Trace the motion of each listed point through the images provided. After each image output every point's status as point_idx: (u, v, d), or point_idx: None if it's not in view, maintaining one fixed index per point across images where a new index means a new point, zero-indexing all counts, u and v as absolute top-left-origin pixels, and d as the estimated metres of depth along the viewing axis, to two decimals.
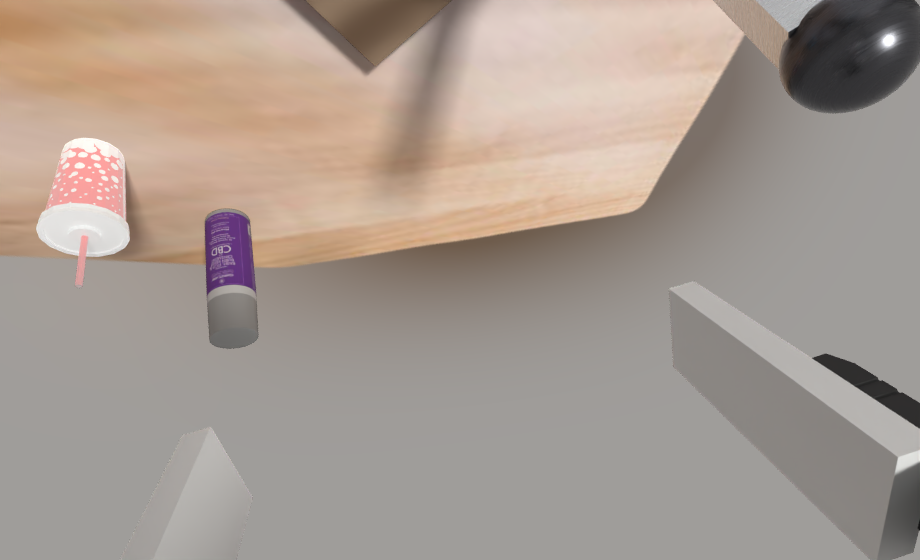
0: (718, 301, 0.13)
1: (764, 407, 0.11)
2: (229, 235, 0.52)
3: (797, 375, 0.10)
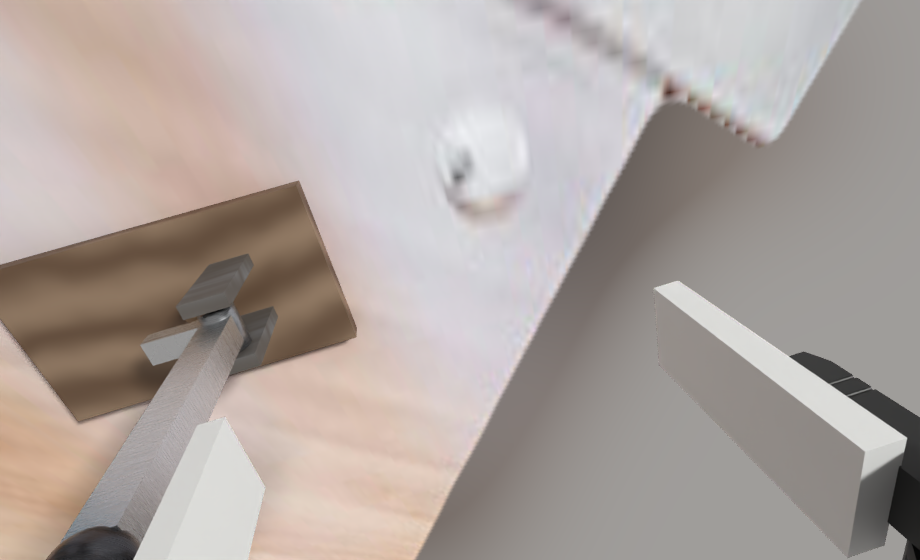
0: (700, 300, 0.13)
1: (743, 404, 0.11)
2: None
3: (773, 372, 0.10)
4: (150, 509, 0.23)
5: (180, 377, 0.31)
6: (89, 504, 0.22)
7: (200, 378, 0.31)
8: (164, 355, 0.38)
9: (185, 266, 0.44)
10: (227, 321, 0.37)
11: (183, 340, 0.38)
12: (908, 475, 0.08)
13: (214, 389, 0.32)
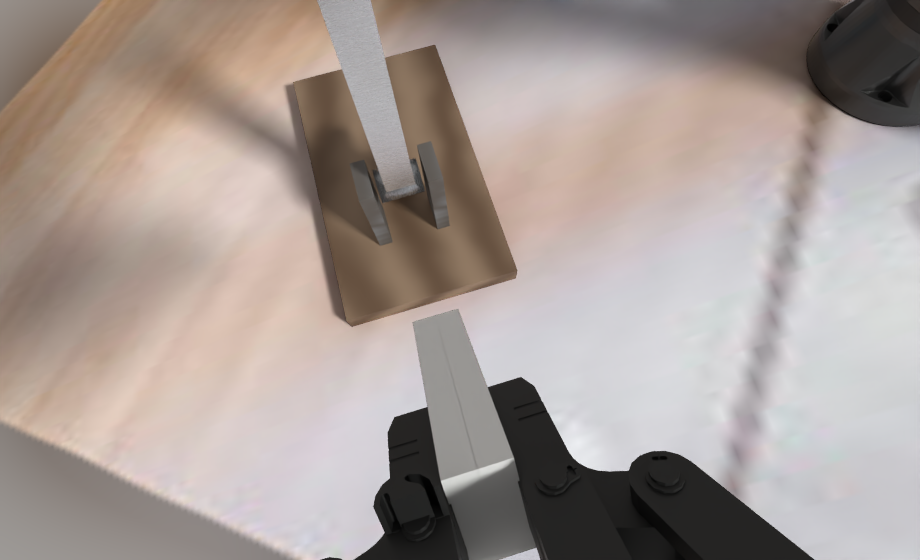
0: (461, 328, 0.14)
1: None
2: None
3: (464, 398, 0.11)
4: None
5: None
6: None
7: (395, 118, 0.32)
8: None
9: None
10: (413, 177, 0.38)
11: None
12: (520, 489, 0.10)
13: (375, 132, 0.32)
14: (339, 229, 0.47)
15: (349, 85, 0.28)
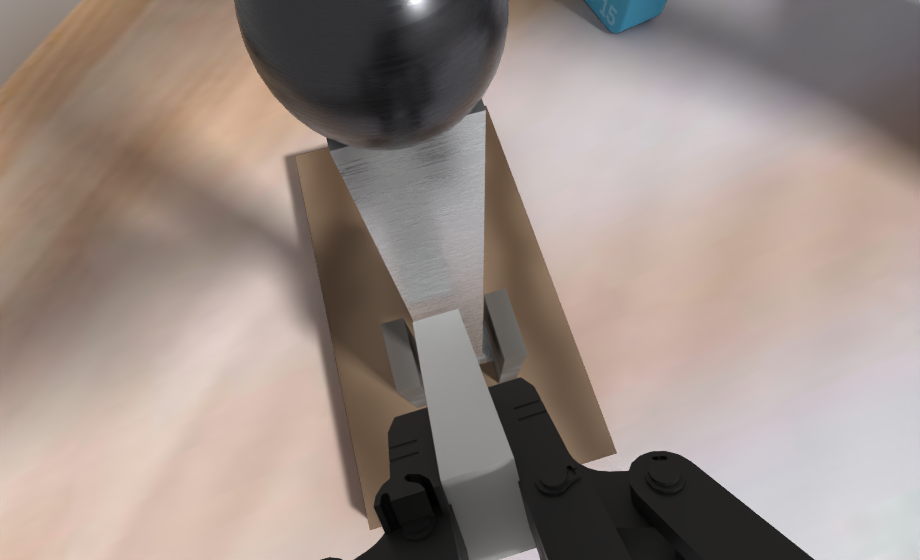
0: (461, 328, 0.14)
1: None
2: None
3: (464, 398, 0.11)
4: (417, 195, 0.09)
5: None
6: None
7: (475, 315, 0.18)
8: None
9: None
10: (481, 353, 0.25)
11: None
12: (520, 489, 0.10)
13: None
14: (358, 379, 0.33)
15: (406, 300, 0.14)
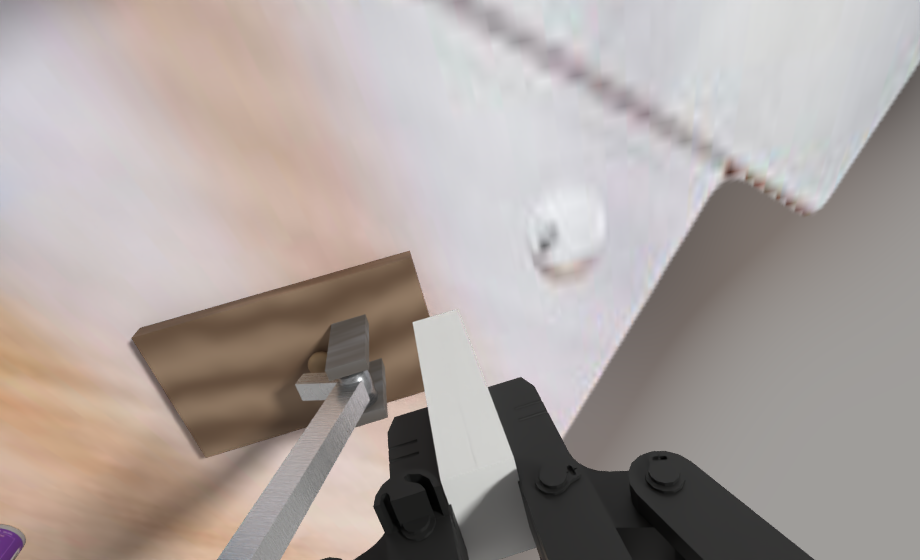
0: (461, 328, 0.14)
1: None
2: None
3: (464, 398, 0.11)
4: None
5: (307, 444, 0.38)
6: None
7: (320, 451, 0.37)
8: (311, 395, 0.47)
9: (311, 326, 0.50)
10: (357, 386, 0.43)
11: (325, 388, 0.46)
12: (520, 488, 0.10)
13: (331, 457, 0.38)
14: None
15: (305, 512, 0.35)
